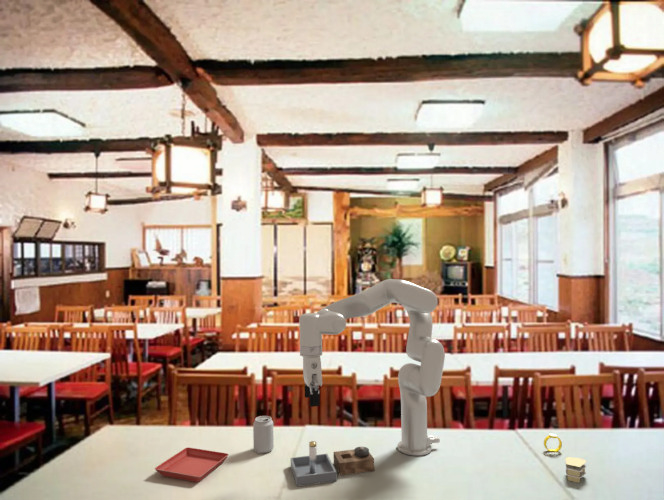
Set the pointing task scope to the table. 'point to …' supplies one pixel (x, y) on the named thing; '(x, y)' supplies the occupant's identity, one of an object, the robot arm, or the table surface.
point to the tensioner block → (353, 461)
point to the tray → (323, 474)
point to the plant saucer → (191, 464)
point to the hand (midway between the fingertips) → (312, 401)
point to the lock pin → (312, 458)
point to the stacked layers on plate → (575, 468)
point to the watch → (553, 437)
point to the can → (263, 434)
